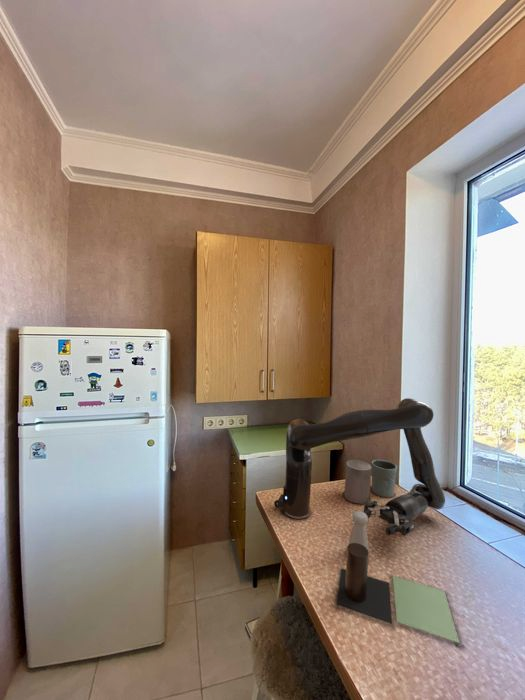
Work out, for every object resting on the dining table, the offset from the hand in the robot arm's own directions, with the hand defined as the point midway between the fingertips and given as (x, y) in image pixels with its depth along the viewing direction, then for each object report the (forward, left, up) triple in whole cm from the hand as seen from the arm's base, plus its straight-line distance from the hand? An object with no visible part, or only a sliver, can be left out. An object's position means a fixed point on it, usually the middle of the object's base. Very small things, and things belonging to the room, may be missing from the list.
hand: (374, 524), depth 89 cm
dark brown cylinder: (-4, -20, -7) cm, 21 cm away
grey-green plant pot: (+4, +39, -8) cm, 40 cm away
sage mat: (+11, -17, -8) cm, 21 cm away
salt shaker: (-4, -6, -8) cm, 11 cm away
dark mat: (-2, -19, -8) cm, 20 cm away
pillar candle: (-6, +29, -8) cm, 31 cm away
